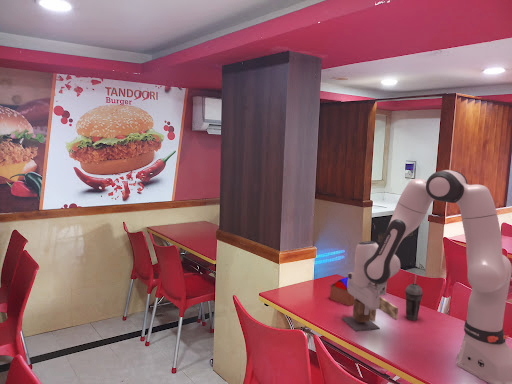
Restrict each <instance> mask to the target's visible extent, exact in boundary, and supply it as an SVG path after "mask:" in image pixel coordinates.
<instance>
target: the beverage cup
mask: <svg viewBox="0 0 512 384" xmlns="http://www.w3.org/2000/svg"><path fill="white" fill-rule="evenodd" d="M414 275H415V276H414V283H411V284H408V286H406V288H405V291H404V293H405V305H406V306H405V318H406V319H408V320H410V321H417V320H418V316H419V312H420V306H421V301H422V298H423V289H422V287H421V286H420V285H419V284H417V283H416V282H417V273H415V274H414Z"/></svg>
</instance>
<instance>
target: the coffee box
mask: <svg viewBox="0 0 512 384" xmlns="http://www.w3.org/2000/svg"><path fill="white" fill-rule="evenodd" d="M387 284H388V280H387V281H386V282H384V283H382V284H375V285H374V286H376V287H377V290H378V292H379V296H384V295H386V294H387Z"/></svg>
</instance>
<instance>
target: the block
mask: <svg viewBox="0 0 512 384" xmlns="http://www.w3.org/2000/svg"><path fill="white" fill-rule="evenodd" d="M352 306H353V308H352V311H353V312H352V317H353V318H354V319H355V320H356V321H358V322H369V320H371V319H370V310H369V314H368V315H365V314H363V310H365V305H364V304H363V303H362V302H360V301H359V300H357V299H354V304H353V305H352Z"/></svg>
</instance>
